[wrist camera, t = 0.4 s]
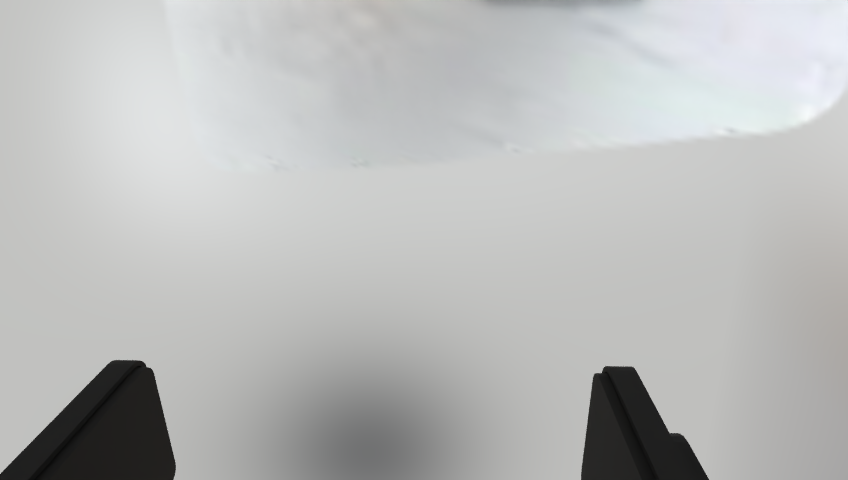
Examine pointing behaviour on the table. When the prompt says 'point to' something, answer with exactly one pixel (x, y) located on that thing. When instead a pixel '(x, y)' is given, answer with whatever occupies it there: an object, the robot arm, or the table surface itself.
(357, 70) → the table surface
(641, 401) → the robot arm
